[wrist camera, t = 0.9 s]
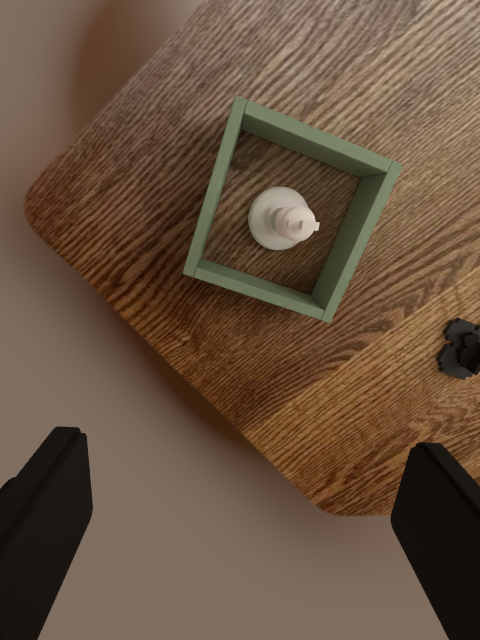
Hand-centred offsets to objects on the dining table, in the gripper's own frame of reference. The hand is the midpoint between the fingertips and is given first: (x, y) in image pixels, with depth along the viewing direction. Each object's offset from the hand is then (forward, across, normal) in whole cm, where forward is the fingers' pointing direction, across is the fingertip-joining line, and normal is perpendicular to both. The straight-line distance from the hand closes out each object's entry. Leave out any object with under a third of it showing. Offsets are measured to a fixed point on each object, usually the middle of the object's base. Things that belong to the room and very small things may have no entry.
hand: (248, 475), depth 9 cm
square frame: (+20, -3, -7) cm, 21 cm away
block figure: (+20, -22, +4) cm, 30 cm away
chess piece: (+20, -3, -7) cm, 22 cm away
